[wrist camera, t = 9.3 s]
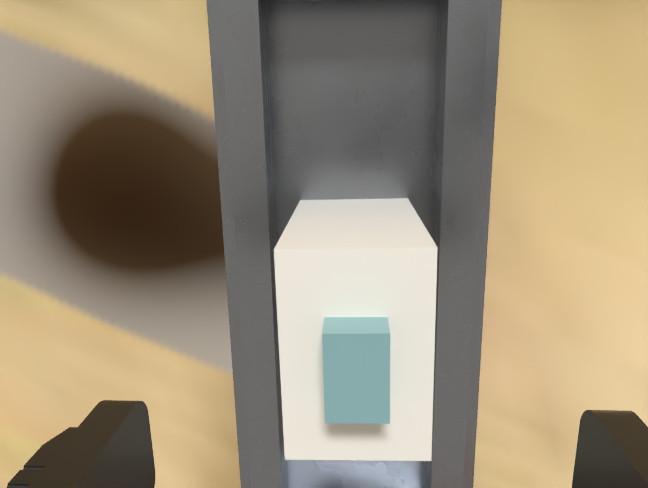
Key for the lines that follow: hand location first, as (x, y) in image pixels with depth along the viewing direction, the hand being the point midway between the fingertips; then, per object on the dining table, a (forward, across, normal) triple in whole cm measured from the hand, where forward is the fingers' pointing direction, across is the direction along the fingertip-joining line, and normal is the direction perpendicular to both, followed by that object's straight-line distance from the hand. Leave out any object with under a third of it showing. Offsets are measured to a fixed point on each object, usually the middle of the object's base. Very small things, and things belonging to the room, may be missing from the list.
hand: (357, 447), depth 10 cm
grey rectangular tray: (+12, 0, 0) cm, 12 cm away
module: (+11, 0, 0) cm, 11 cm away
